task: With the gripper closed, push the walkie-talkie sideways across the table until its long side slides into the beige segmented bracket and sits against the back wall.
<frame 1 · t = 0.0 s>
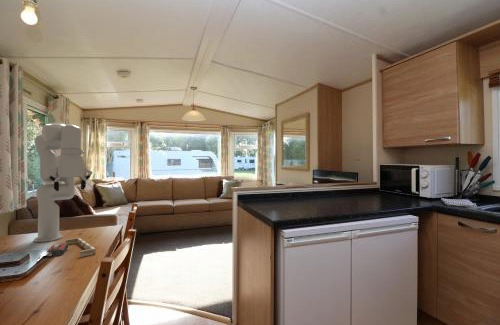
hand: (70, 190, 112), 31 cm above the table, tool pointing down, fingers open, 9 cm apart
walkie-talkie: (53, 255, 117), on the table
beige segmented bracket: (77, 249, 124), on the table
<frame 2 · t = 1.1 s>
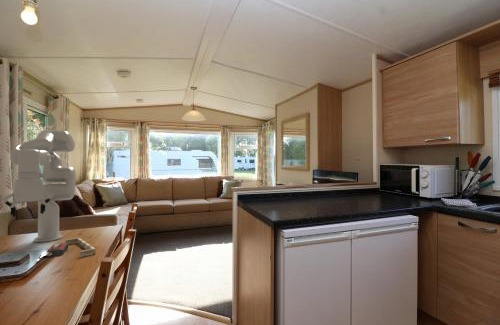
hand: (28, 214, 110), 20 cm above the table, tool pointing down, fingers open, 9 cm apart
nothing on the table moved.
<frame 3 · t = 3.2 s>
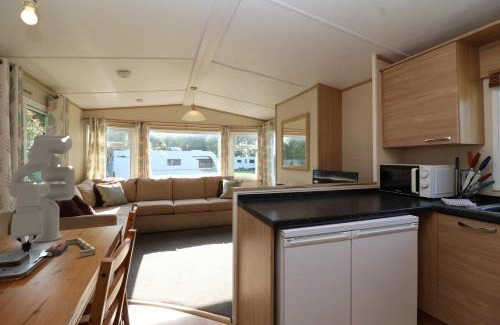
hand: (26, 251, 109), 4 cm above the table, tool pointing down, fingers closed
nothing on the table moved.
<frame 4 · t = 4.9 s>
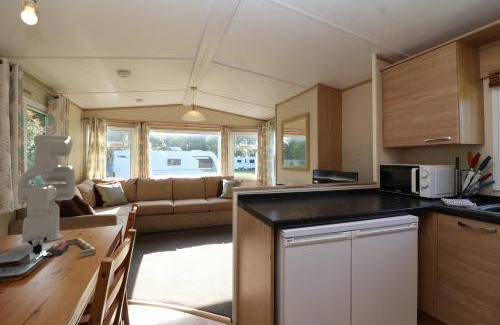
hand: (37, 253, 112), 2 cm above the table, tool pointing down, fingers closed
nothing on the table moved.
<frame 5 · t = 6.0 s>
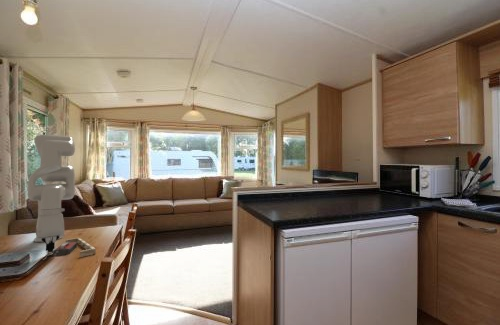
hand: (50, 251, 116), 2 cm above the table, tool pointing down, fingers closed
walkie-talkie: (60, 254, 118), on the table, touching gripper
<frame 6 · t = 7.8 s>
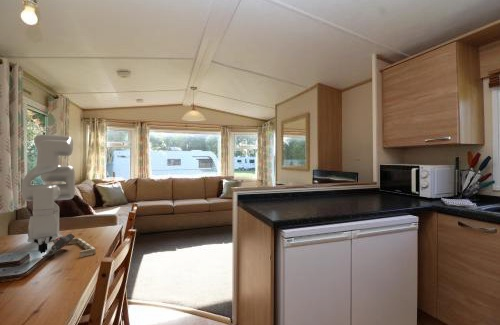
hand: (42, 252, 114), 2 cm above the table, tool pointing down, fingers closed
walkie-talkie: (61, 247, 118), point 3 cm above the table
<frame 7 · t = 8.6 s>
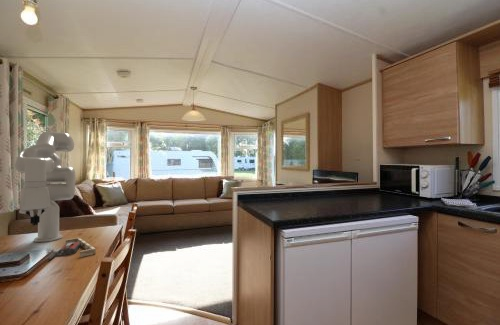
hand: (35, 224, 112), 15 cm above the table, tool pointing down, fingers closed
walkie-talkie: (65, 254, 118), on the table
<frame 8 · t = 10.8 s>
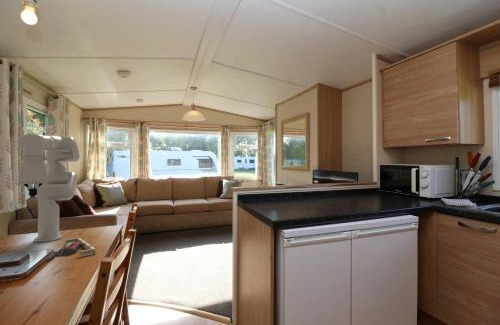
hand: (32, 196, 120), 27 cm above the table, tool pointing down, fingers closed
nothing on the table moved.
at the end: walkie-talkie inside the target area on the beige segmented bracket (2.4 cm from its centre), point -0.6 cm above the beige segmented bracket's base; walkie-talkie tilted 0° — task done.
